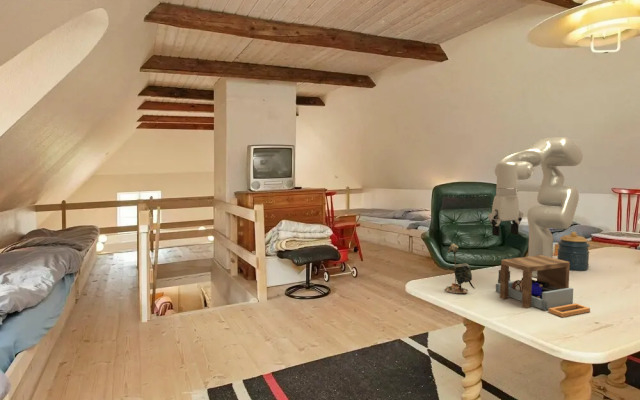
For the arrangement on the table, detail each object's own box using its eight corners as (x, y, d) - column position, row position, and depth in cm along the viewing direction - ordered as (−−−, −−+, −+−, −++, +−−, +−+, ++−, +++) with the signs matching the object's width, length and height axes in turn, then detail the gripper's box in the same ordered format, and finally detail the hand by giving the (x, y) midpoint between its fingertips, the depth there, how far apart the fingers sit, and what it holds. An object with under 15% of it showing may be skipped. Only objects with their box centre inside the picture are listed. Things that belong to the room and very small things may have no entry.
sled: (513, 284, 160) (514, 268, 159) (572, 305, 135) (573, 285, 135) (488, 288, 155) (488, 271, 155) (544, 310, 131) (545, 290, 130)
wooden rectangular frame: (575, 307, 134) (575, 303, 134) (589, 312, 130) (590, 308, 129) (548, 312, 130) (548, 308, 130) (562, 317, 125) (562, 313, 125)
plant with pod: (469, 297, 145) (470, 246, 144) (441, 291, 153) (442, 242, 151) (477, 292, 151) (478, 243, 149) (450, 286, 159) (450, 239, 157)
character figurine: (553, 307, 135) (509, 297, 146) (560, 301, 140) (517, 291, 151) (553, 286, 134) (509, 277, 145) (560, 280, 139) (517, 272, 150)
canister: (588, 266, 187) (589, 231, 186) (589, 272, 177) (590, 235, 175) (557, 263, 195) (558, 229, 193) (556, 268, 184) (557, 232, 182)
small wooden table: (539, 291, 152) (540, 255, 151) (568, 300, 141) (569, 262, 139) (499, 297, 145) (500, 259, 144) (526, 308, 134) (528, 267, 132)
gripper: (515, 191, 159) (514, 232, 161) (482, 192, 153) (481, 234, 155) (530, 192, 152) (529, 234, 153) (496, 193, 146) (495, 237, 148)
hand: (505, 234), depth 154 cm, fingers open, 9 cm apart
